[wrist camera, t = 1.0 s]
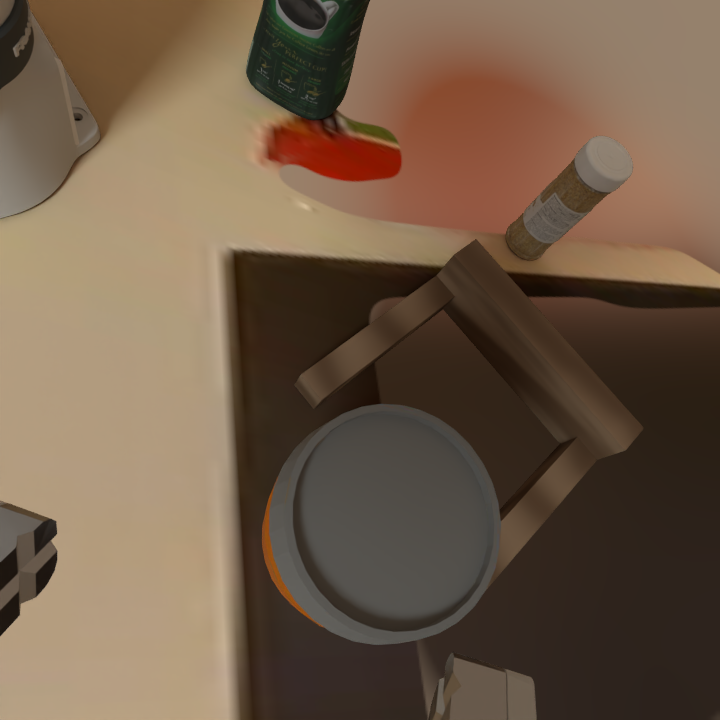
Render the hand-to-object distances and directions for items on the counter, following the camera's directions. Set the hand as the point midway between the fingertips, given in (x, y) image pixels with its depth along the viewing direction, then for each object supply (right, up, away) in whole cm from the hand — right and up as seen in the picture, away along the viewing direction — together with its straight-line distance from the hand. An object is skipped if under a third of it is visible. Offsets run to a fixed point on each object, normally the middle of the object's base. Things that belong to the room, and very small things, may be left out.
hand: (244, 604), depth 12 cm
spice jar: (+19, +17, +50) cm, 56 cm away
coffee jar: (-4, +32, +48) cm, 58 cm away
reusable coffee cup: (0, -9, +33) cm, 34 cm away
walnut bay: (+10, 0, +40) cm, 41 cm away
